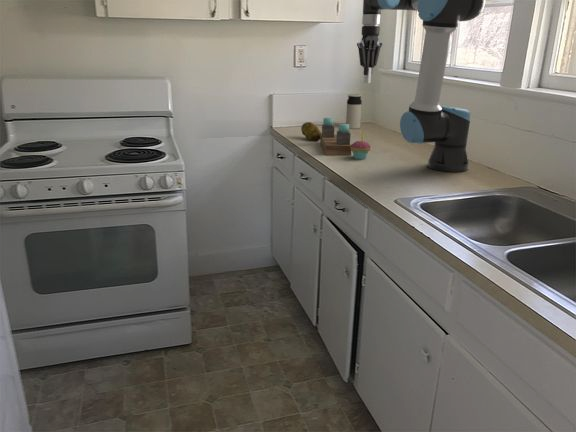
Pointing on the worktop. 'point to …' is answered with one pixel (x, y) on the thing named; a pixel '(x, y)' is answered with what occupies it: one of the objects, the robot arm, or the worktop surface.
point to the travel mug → (353, 111)
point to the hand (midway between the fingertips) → (367, 82)
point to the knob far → (328, 121)
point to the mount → (335, 141)
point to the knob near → (343, 128)
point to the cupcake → (360, 148)
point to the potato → (311, 131)
